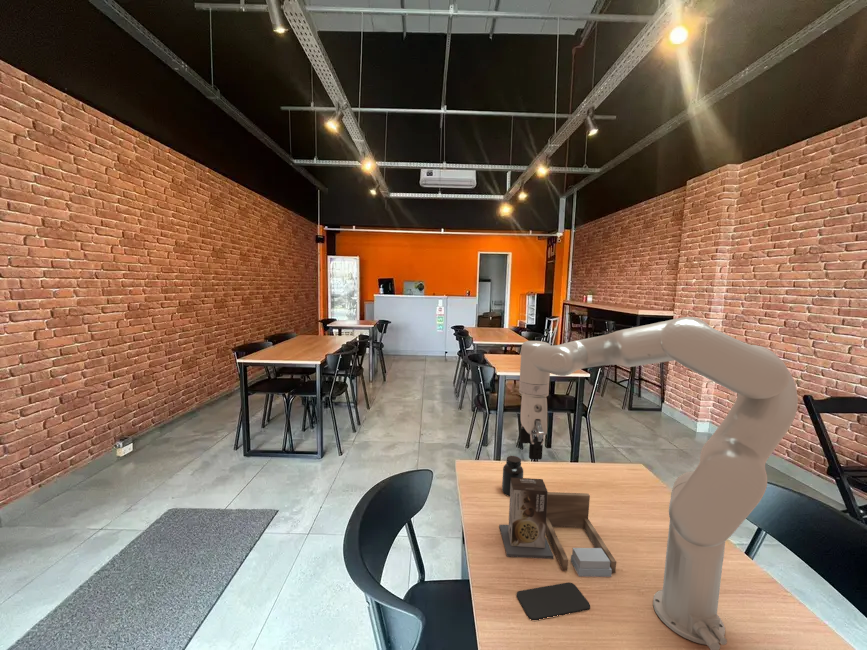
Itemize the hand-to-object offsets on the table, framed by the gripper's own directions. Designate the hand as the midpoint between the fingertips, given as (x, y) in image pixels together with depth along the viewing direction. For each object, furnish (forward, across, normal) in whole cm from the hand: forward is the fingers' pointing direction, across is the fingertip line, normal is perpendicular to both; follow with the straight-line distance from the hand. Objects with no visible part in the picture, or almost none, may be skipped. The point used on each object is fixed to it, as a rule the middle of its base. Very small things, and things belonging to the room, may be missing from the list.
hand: (530, 450), depth 98 cm
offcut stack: (+26, -9, -14) cm, 31 cm away
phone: (+27, -19, -2) cm, 33 cm away
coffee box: (+26, 0, 0) cm, 26 cm away
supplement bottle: (+26, +25, -1) cm, 36 cm away
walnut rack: (+26, -1, -13) cm, 29 cm away
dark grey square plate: (+26, 0, 0) cm, 26 cm away
